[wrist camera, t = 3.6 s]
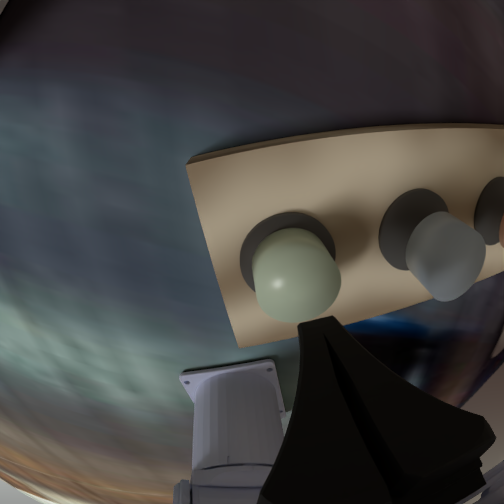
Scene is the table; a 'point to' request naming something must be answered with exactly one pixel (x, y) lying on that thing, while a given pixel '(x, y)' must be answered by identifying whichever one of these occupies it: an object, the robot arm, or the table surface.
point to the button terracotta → (501, 232)
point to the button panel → (347, 210)
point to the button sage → (294, 276)
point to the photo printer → (2, 5)
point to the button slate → (445, 255)
